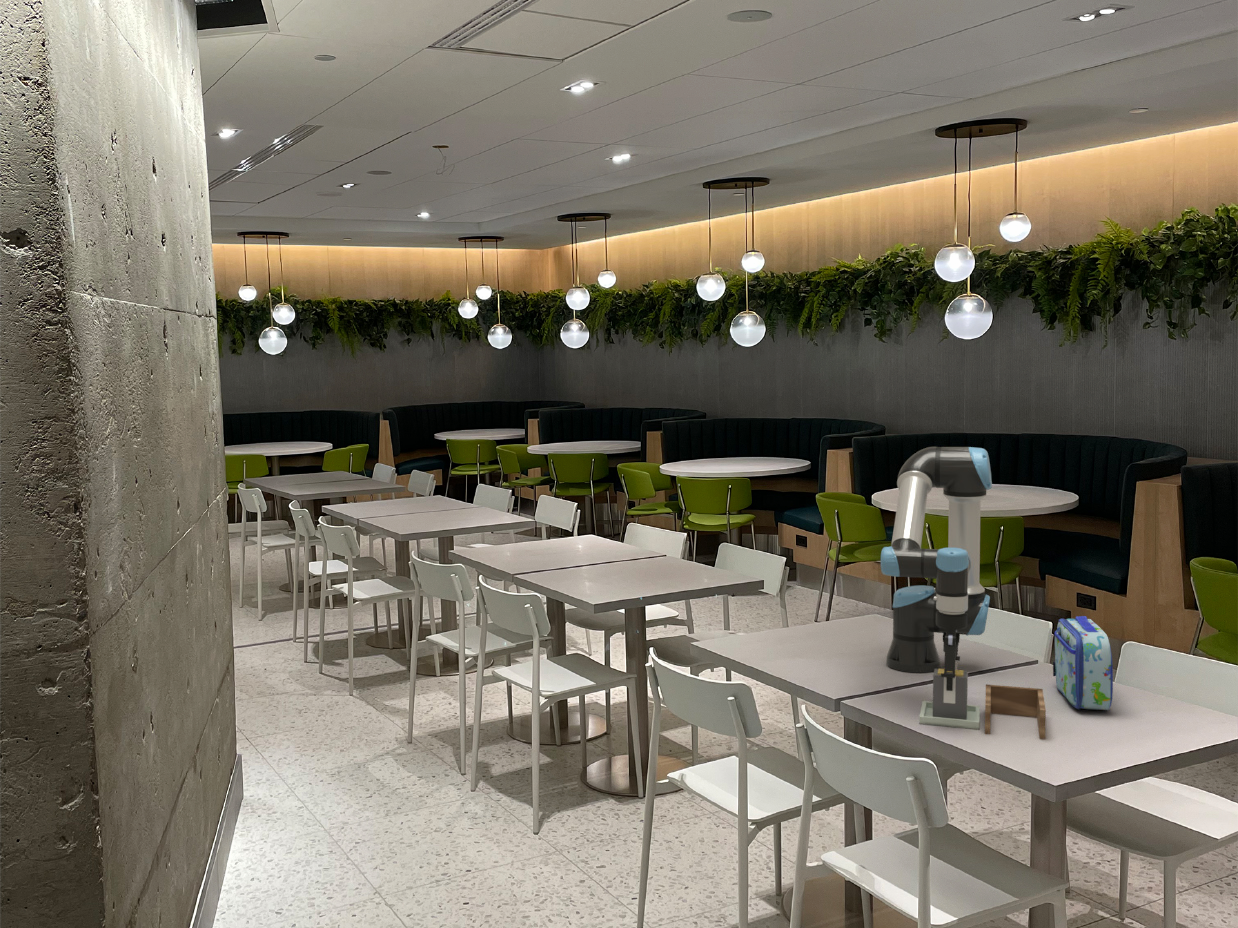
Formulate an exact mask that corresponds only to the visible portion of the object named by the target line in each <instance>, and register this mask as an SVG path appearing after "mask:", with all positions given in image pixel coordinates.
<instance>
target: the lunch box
mask: <svg viewBox="0 0 1238 928" xmlns="http://www.w3.org/2000/svg"><path fill="white" fill-rule="evenodd" d="M1056 628H1057V629H1056V630H1055V631H1054V659H1055V660H1054V661H1052V675H1053V677H1055V682H1056V688H1057V690H1058V691H1059V692H1060V693H1061V694H1062V695H1063V696H1064V698H1065V699H1067V701H1068V702H1069V704H1070V705H1071V706H1072V707H1073V708H1075V709H1076V710H1080V709H1083V710H1097V711H1099V710H1103V711H1109V710H1110V709H1111V706H1112V703H1113V696H1114V695H1113V694H1114V693H1113V692H1114V681H1113V680H1114V678H1113V677H1114V675H1113V673H1114V672H1113V670H1114V669H1113V666H1114V665H1113V655H1112V654H1113V653H1112V649H1111V644H1110V640H1109V637H1108V635H1107V633H1106V632H1105V631H1104V630H1103V629H1102V628H1101V627H1100V626H1099V625H1098V624H1097V623H1096V622H1094V620H1092V619H1090V618H1088V617H1087V616H1085V615H1081V616H1080V615H1079V616H1075V618H1066V619H1065V618H1063V617H1062V618H1060V619H1058V623H1057V627H1056Z"/></svg>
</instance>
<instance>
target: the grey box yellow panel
mask: <svg viewBox="0 0 1238 928" xmlns="http://www.w3.org/2000/svg"><path fill="white" fill-rule="evenodd" d="M947 672H952V671H947ZM941 673H942V674H944V668H939V669H934V671H933V676H932V702H933V717H941V718H952V719H963V720H967V705H968V693H969V692H968V691H969V689H968V686H969V683H968V681H969V678H968V677H969V671H968V670H961V669H957V670H955V675H956V676H955V677H956V685H955V704H953V703H944V677H941Z"/></svg>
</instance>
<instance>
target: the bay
mask: <svg viewBox="0 0 1238 928" xmlns="http://www.w3.org/2000/svg"><path fill="white" fill-rule="evenodd" d="M1044 697H1045V696H1044V691H1043V688H1037V687H1036V688H1034V687H1024V686H1013V685H1012V686H1009V685H997V684H985V701H984V702H985V704H984V706H985V709H984V711H985V712H984V715H985V716H984V720H985V721H984V734H985V735H987V734H988V735H991V714H994V715H995V714H996V715H1009V716H1019V717H1028V718H1036V719H1037V728H1038V729H1037V730H1038V738H1039V739H1040V740H1046V714H1047V713H1046V712H1047V711H1046V703H1045V698H1044Z"/></svg>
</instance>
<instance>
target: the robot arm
mask: <svg viewBox="0 0 1238 928" xmlns="http://www.w3.org/2000/svg"><path fill="white" fill-rule="evenodd" d="M896 486H897V489H898V490H899V493H898V499H897V506H896V511H895V518H894V525H893V530H892V531H893V533H892V536H891V537H892V539H891V546H884V547H883V548H882V549H881V553H880V571H881V573H882V574H883V575H884V576H889V577H898V578H899V577H900V578H901V577H903V578H904V577H905V578H922V579H923V578H924V579H935V580H936V585H935V586H936V589H935V587H934V586H933V585H909V586H906V587H902V588H898V589H897V590H896V591H895V592H894V593H893V603H892V608H893V609H892V610H893V612H892V613H893V614H892V615H893V616H892V617H893V618H892V621H893V622H892V641H891V644H890V645H889V649H888V653H887V655H886V666H887V667H888V668H891V669H893V670H896V671H901V672H905V673H906V672H907V673H931V672H934V669H941V668H940V667H941V659H940V655H939V653H938V650H937V647H936V642H935V633H938V634H942V642H943V647H942V649H943V650H942V651H943V653H944V668H943V669H944V674H942V673H941V677H944V703H953V704H955V685H956V677H955V676H956V675H955V670H958V661H960V662H961V656H959V654H958V651H959V645H960V644H959V643H960V640H961V639H960V635H961V636H962V635H966V636H980V635H983V634H984V633H985V630H986V627H987V626H986V625H987V619H988V614H989V613H988V612H989V607H990V600H991V596H990V595H988V594H986V593H985V592H986V591H985V587H984V586H982V584H981V583H980V573H981V572H980V566H981V565H980V563H981V561H980V560H981V553H980V552H981V502H982V500H984V498H986V496H987V491H988V490H989V491H990V490H992V488H993V482H992V471H991V464H990V457H989V453H988V451H987V450H986V449H985V448H982V447H973V446H972V447H971V446H941V447H940V446H928V447H926V448H923V449H920V450H918V451H916V453H914V454H912V455H911V456H910V457H909V458H908V459H907V460H906V461H905V462H904V464H903V465H902V466H901V468H900V470H899V472H898V475H897V481H896ZM933 488H937V489H943V491H942V492H943V493H942V495H943V496H944V497H946V499H947V500H948V536H947V537H948V542H947V543H948V545H947V546H948V547H943V548H939V549H938V548H934V549H933V548H922V542H923V541H922V540H923V532H924V524H925V517H926V508H927V500H928V494H929V493H930V492H931V491H932V489H933ZM947 671H952V672H947Z"/></svg>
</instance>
